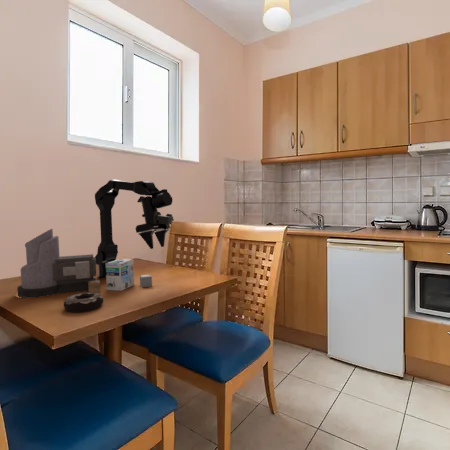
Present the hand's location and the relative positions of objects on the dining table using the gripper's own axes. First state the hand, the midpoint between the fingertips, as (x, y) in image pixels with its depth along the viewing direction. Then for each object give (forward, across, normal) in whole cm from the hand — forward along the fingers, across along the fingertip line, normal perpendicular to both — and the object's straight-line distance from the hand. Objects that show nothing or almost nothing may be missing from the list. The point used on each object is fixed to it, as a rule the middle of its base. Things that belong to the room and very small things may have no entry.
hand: (157, 247), depth 132 cm
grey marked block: (+14, -4, +6) cm, 16 cm away
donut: (+15, -33, +12) cm, 38 cm away
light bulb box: (+13, -8, +15) cm, 21 cm away
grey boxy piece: (+9, -17, +37) cm, 41 cm away
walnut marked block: (+12, -16, +21) cm, 29 cm away
